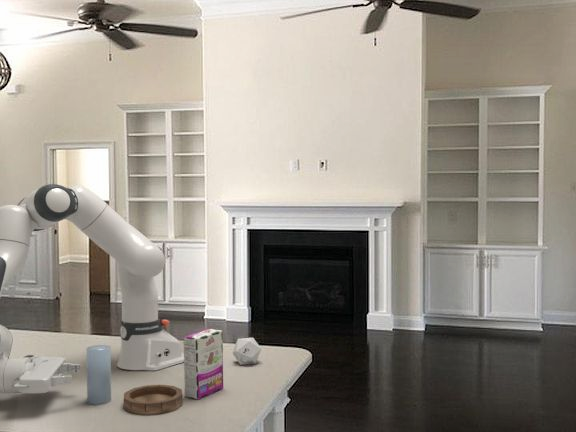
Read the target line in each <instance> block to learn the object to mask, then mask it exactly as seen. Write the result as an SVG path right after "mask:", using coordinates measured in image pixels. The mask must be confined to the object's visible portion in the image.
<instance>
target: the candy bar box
mask: <svg viewBox="0 0 576 432" xmlns="http://www.w3.org/2000/svg"><path fill="white" fill-rule="evenodd" d="M223 349H224V347H223V330H221V329H216V328H215V329H214V328H207V329H205V330H201V331H199V332H196V333H192V334H189V335H186V336H183V353H184V362H183V363H184V366H183V367H184V368H183V370H184V371H183V373H184V396H185V397H186V398H188V399H194V400H201V399H202V398H205V397H208V396H210V395H212V394H213V393H216V392H219V391H221V390H222V389H224V361H223V358H224V357H223V356H224V355H223V354H224V352H223V351H224V350H223Z"/></svg>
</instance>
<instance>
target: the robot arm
mask: <svg viewBox="0 0 576 432" xmlns="http://www.w3.org/2000/svg"><path fill="white" fill-rule="evenodd" d="M64 220H66V221H69V222H71V223H72V224H73V225H74V226H75V227H76V228H78V230H79V231H81V232H82V233H83V234H84V235H85V236H86V237H87V238H89V239H90V240H91V241H92V242H93V243H94V244H95V245H96V246H98V247H99V248H100V249H102V250H103V251H104V252H105V253H106V254H107V255H109V256H110V257H112V258H113V259H114V260H115V261H116V265H117V273H118V280H119V287H120V294H121V320H120V339H121V342H120V351H119V356H118V359H117V363H116V367H118V368H120V369H123V370H129V371H159V370H162V369H166V368H168V367H171V366H175V365H177V364H181V363H184V352H182V346H181V342H180V341H179V340H178V339H177V338H176V337H174V336H173V335H171V334H170V333H169V332H167V331H166V330H165V329H164V327H165V328H166V327H169V325H170V321H169V320H168V319H161V318H159V294H158V291H157V288H156V284H155V283H156V282H155V278H154V277H157V276H158V275H159V274H160V273H161V272H162V271H163V270H164V267H165V265H166V257H165V255H164V252H163V251H162V250H161V249H160V248H159V246H157V245H156V244H155V243H153V242H152V240H150V239H149V238H148V237H146V236H145V235H144V234H143V233H142V232H140V231H139V230H138V229H137V228H135V226H133V225H132V224H130V223H129V222H128V221H126V220H125V219H124V218H123V217H122V216H121V215H120V214H119V213H117V212H116V211H115V210H114V209H113V208H112V206H110V205H109V204H108V203H107V202H106V201H105V200H103V199H102V198H101V197H99V195H97V194H96V193H95V192H93V191H91V190H90V189H89V188H87V187H85V186H83V185H81V184H76V185H75V184H74V185H72V186H70V187H65V186H64V185H61V184H56V183H50V184H45V185H43V186H40V188H36V189H34V190H33V191H31V192H30V193H28V195H27V196H26V197H24V198H22V199H21V200H20V201H19V202H18V203H17V205H16V204H5V205H1V206H0V298H1V295H2V291H3V289H4V286H5V284H6V283H7V282H8V281H9V280H10V279H11V278H13V277H16V276H17V275H19V274H20V273H21V272H22V271H23V270H24V268H25V266H26V263H27V260H28V257H29V251H30V250H29V249H30V243H31V236H32V234H33V232H40V231H43V230H46V229H48V228H50V227H51V228H52V227H54V226H55V225H57V224H58V223H59V222H61V221H64ZM163 326H164V327H163ZM12 346H13V335H12V333H11V331H10V330H9V329H8V328H7V327H6V326H4V325H3V324H0V393H1V394H4V395H5V394H6V395H7V394H8V395H9V394H45V393H48V392H50V391H51V389H53V386H55V387H57V386H60V385H65V384H72V382H73V381H74V375H73V374H65V375H63V374H64V373H67V372H71V373H79V372H80V371H81V364H79V363H75V364H74V363H72V362H70V363H69V362H66V357H62V356H54V355H53V356H49V355H46V356H44V355H43V356H42V355H41V356H37V355H36V354H27V355H25V356H23V357H13V358H12V357H11V358H10V354H11V351H12V349H13V348H12Z"/></svg>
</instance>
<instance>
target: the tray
mask: <svg viewBox="0 0 576 432" xmlns="http://www.w3.org/2000/svg"><path fill="white" fill-rule="evenodd" d="M183 404H184V403H183V390H182V388H179V387H176V386H175V385H169V384H168V385H167V384H150V385H149V384H148V385H146V384H145V385H141V386H138V387H133V388H131V389H129V390H128V391H126V392H124V394H123V409H124V410H125V411H126V412H127V413H131V414H134V415H140V416H141V415H143V416H145V415H146V416H150V415H161V414H166V413H170V412H173V411H175V410H178V409H179V408H181V406H183Z"/></svg>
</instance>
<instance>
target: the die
mask: <svg viewBox="0 0 576 432" xmlns="http://www.w3.org/2000/svg"><path fill="white" fill-rule="evenodd" d="M261 351H262V347H260V345H259V343H258V342H257V341H256V340H255V338H254V337H246V338H245V337H244V338H237V340H236V342H235V346H234V348H233V351H232V355H233V356H234V358H235V360H237V362H238V364H239V365H240V366H243V365H253V364H257V361H258V358H259V356H260V353H261Z"/></svg>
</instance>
